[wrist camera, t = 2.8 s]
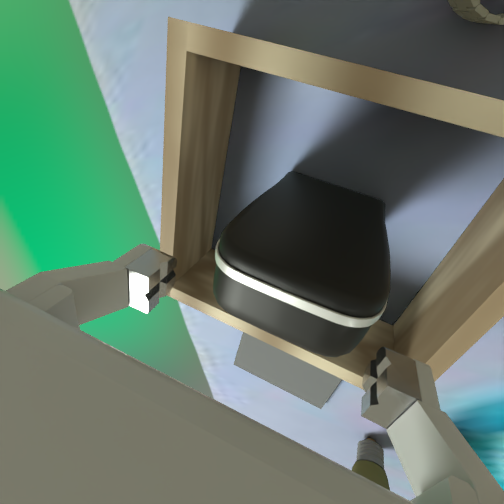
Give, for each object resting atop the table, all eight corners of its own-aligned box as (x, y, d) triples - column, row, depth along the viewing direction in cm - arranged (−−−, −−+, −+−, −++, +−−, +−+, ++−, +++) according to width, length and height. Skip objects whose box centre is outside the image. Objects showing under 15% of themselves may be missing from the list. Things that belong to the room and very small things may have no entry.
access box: (572, 124, 13) (683, 145, 8) (399, 339, 22) (404, 409, 17) (229, 37, 17) (168, 16, 12) (200, 253, 26) (158, 291, 21)
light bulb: (361, 459, 31) (355, 588, 23) (331, 425, 30) (314, 547, 22) (412, 457, 28) (425, 606, 20) (380, 419, 27) (380, 558, 19)
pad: (363, 344, 24) (363, 349, 23) (321, 403, 29) (320, 408, 29) (255, 295, 26) (253, 299, 25) (235, 360, 31) (233, 364, 31)
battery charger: (273, 216, 21) (190, 314, 12) (286, 167, 19) (198, 240, 10) (365, 250, 20) (351, 390, 11) (390, 200, 18) (401, 322, 8)
